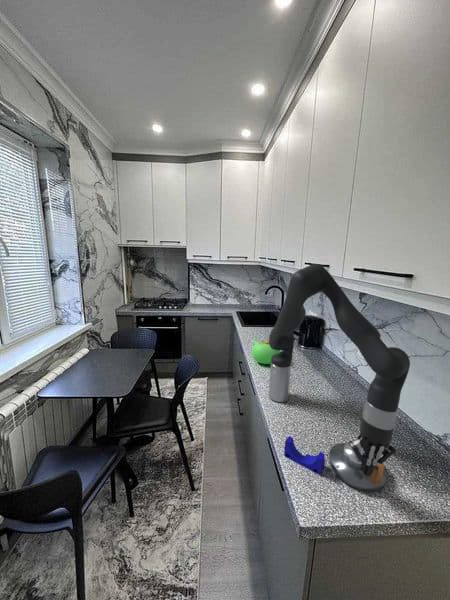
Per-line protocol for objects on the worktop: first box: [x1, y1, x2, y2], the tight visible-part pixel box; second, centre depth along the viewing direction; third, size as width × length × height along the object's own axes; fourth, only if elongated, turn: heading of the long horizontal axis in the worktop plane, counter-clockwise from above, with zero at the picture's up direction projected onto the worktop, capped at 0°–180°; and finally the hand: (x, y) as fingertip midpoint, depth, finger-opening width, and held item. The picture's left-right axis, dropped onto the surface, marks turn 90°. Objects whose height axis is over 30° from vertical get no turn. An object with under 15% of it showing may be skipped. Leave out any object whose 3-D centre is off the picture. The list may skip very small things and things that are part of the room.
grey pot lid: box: [328, 442, 388, 492], centre depth 78 cm, size 16×16×8 cm
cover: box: [343, 441, 362, 470], centre depth 78 cm, size 7×7×5 cm
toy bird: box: [251, 339, 281, 365], centre depth 156 cm, size 18×17×15 cm
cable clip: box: [283, 435, 326, 476], centre depth 81 cm, size 12×4×6 cm, turn 51°
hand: (366, 473), depth 70 cm, fingers closed
